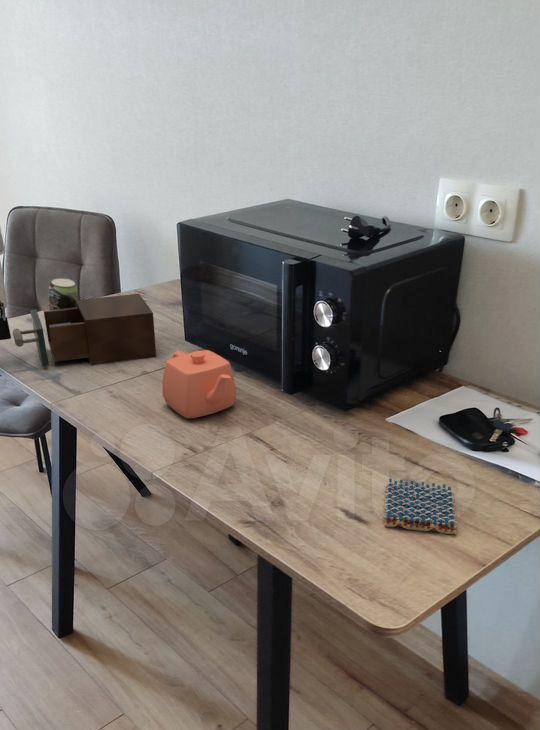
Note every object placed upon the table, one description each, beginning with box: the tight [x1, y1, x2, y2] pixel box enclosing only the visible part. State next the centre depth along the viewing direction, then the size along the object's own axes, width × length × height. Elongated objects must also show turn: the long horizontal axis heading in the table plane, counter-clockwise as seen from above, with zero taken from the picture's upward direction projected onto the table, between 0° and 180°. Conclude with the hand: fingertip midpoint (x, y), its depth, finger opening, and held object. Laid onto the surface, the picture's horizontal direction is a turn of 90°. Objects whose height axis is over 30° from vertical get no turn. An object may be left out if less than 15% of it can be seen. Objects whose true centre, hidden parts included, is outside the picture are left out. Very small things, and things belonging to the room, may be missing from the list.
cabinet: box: [76, 293, 157, 366], centre depth 148 cm, size 14×13×10 cm
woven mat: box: [382, 478, 459, 536], centre depth 102 cm, size 10×11×2 cm
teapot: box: [161, 349, 237, 419], centre depth 126 cm, size 12×18×10 cm, turn 37°
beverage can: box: [48, 277, 79, 310], centre depth 154 cm, size 6×7×12 cm
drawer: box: [12, 307, 89, 367], centre depth 144 cm, size 17×11×8 cm
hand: (2, 338), depth 140 cm, fingers closed
